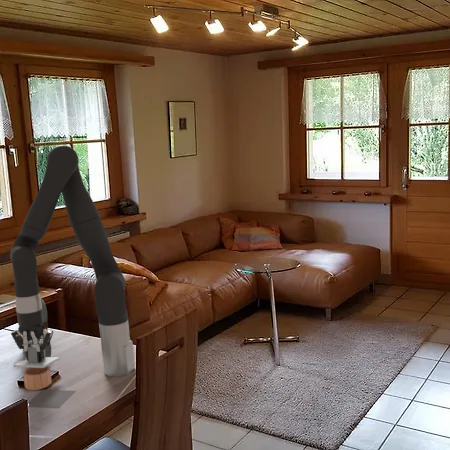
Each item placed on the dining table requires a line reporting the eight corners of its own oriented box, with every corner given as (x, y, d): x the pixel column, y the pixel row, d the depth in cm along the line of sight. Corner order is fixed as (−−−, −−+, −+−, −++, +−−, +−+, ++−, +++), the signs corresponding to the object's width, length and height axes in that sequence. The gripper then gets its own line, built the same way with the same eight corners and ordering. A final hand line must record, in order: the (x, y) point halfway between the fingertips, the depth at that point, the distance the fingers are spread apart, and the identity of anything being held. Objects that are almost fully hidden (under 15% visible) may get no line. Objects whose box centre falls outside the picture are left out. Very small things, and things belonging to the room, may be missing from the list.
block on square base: (59, 359, 188) (58, 341, 188) (43, 367, 179) (42, 349, 179) (31, 358, 191) (30, 341, 190) (13, 366, 181) (13, 348, 181)
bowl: (56, 380, 188) (54, 365, 187) (43, 391, 180) (41, 376, 180) (33, 379, 190) (31, 364, 189) (20, 390, 182) (18, 375, 181)
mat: (76, 392, 179) (75, 390, 179) (58, 409, 168) (58, 408, 168) (43, 390, 181) (42, 389, 181) (23, 407, 170) (23, 406, 170)
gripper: (55, 304, 183) (61, 357, 186) (15, 304, 186) (21, 356, 189) (43, 312, 176) (50, 367, 179) (1, 312, 179) (8, 365, 182)
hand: (35, 361), depth 184 cm, fingers closed on block on square base, 2 cm apart
